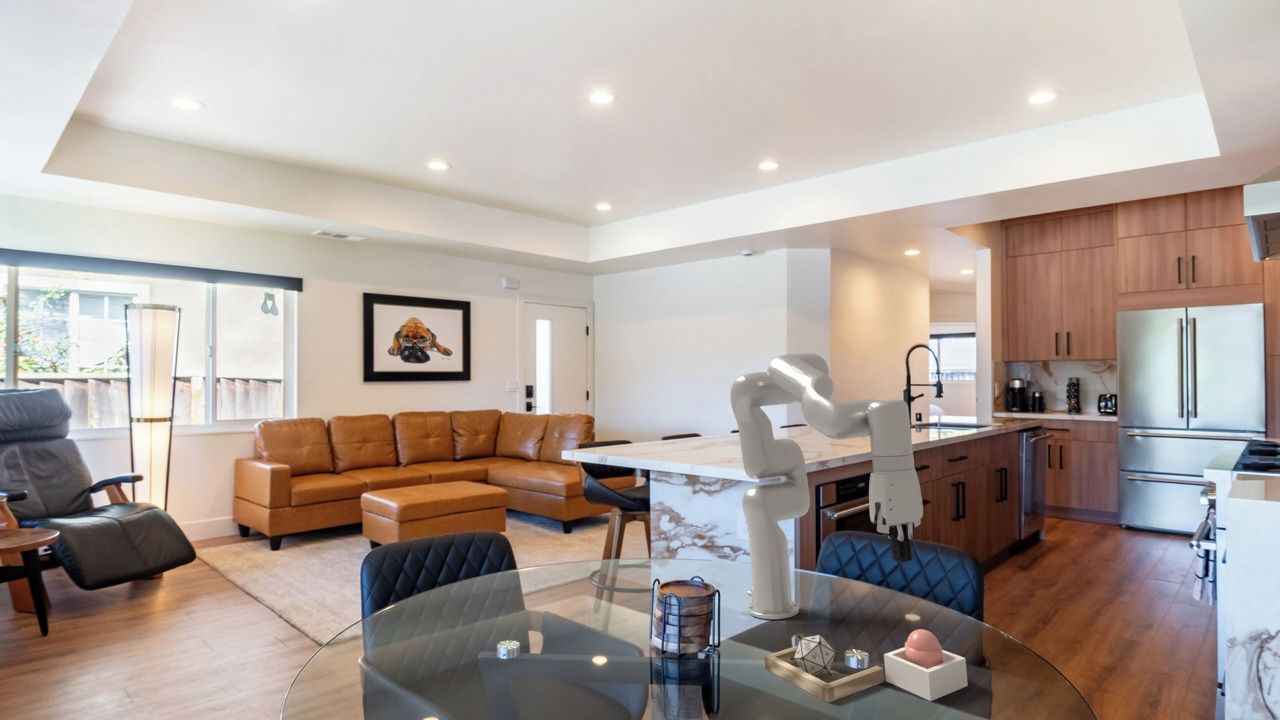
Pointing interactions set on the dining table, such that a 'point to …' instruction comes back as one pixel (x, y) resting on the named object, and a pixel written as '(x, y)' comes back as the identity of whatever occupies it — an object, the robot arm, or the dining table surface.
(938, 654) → the dome
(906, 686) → the white open box
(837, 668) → the dining table surface
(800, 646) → the game die
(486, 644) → the dining table surface
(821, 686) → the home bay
